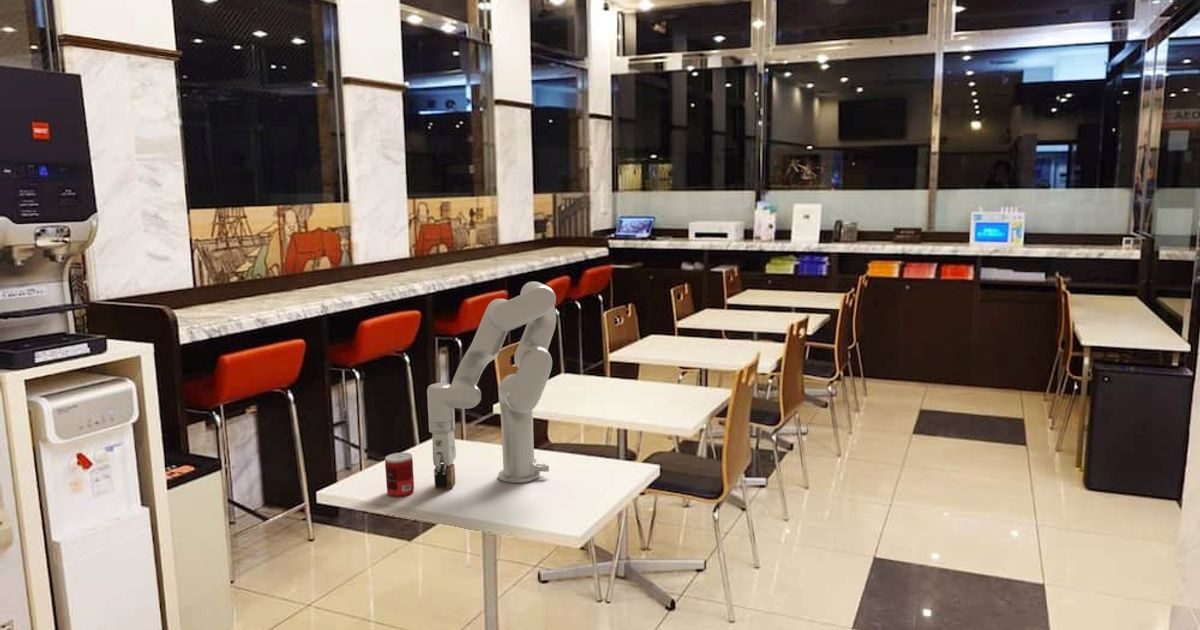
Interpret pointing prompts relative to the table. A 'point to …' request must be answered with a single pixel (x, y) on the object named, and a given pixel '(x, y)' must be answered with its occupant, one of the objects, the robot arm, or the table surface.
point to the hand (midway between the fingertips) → (445, 481)
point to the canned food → (399, 474)
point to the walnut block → (448, 477)
